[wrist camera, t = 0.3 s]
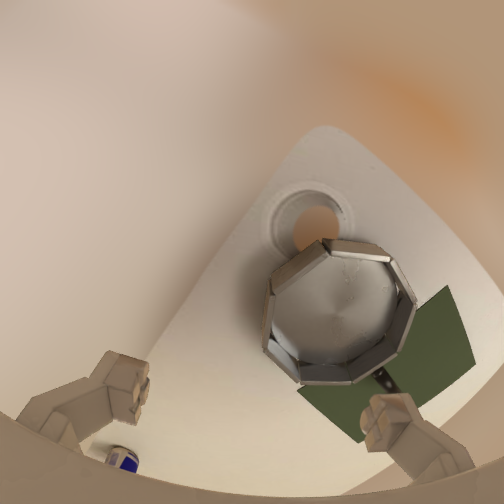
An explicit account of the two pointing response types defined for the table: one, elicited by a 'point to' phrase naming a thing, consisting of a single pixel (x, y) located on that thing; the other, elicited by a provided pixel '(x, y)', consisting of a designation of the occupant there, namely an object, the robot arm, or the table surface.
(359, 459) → the table surface
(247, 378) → the table surface
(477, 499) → the robot arm
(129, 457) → the beverage can
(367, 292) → the octagonal skillet
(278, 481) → the table surface
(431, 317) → the mat
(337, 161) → the table surface
